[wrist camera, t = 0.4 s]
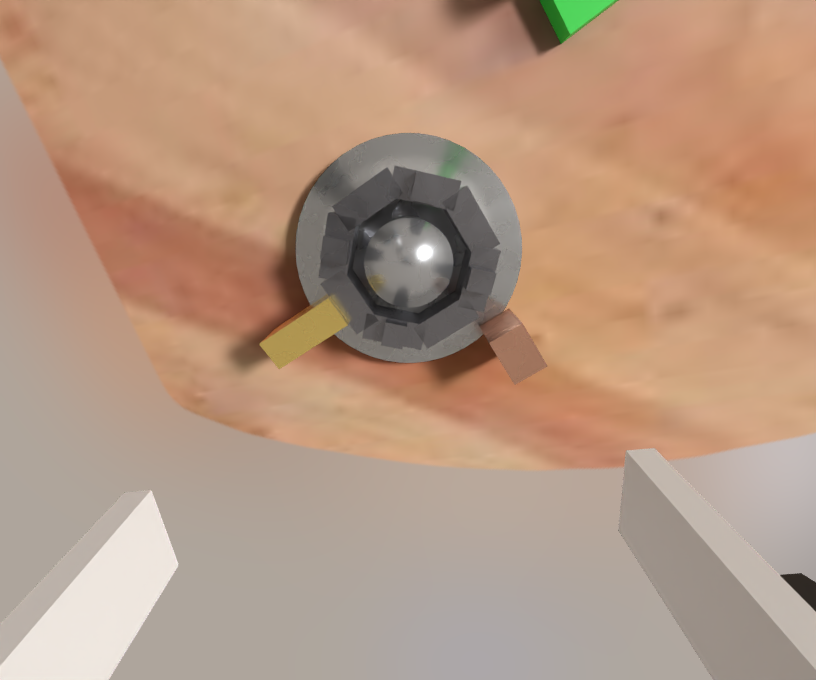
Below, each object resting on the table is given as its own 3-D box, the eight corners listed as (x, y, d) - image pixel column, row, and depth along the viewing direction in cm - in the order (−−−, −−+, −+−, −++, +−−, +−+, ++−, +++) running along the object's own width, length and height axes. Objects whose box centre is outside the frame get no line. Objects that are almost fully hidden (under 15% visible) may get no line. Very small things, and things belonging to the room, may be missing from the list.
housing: (255, 222, 34) (224, 226, 28) (444, 84, 30) (453, 57, 25) (397, 415, 39) (395, 451, 34) (570, 315, 36) (599, 336, 30)
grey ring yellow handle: (434, 138, 30) (438, 129, 26) (515, 281, 33) (529, 292, 29) (236, 278, 33) (212, 289, 29) (328, 395, 36) (318, 419, 32)
